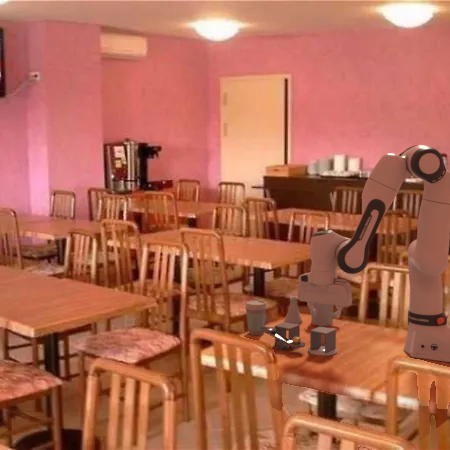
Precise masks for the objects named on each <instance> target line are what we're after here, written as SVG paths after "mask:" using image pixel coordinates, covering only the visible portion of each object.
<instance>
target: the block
mask: <svg viewBox="0 0 450 450" xmlns="http://www.w3.org/2000/svg"><path fill="white" fill-rule="evenodd" d="M321 345H325V335H324V334H321Z"/></svg>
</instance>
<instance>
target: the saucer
mask: <svg viewBox="0 0 450 450" xmlns="http://www.w3.org/2000/svg"><path fill="white" fill-rule="evenodd" d="M307 351H308V353H309V354H311V355H313V356H320V357H329V356H333V355H337V354H338V349H337V348H336V349H334V350H332V351H330V352H328V353H325V345H321V346H320V347H317V348H315V349H313V350H310V346H309V347H308V350H307Z"/></svg>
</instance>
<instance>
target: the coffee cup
mask: <svg viewBox="0 0 450 450" xmlns="http://www.w3.org/2000/svg"><path fill="white" fill-rule="evenodd" d="M244 308H245V312H246V313H245V314H246V321H247V328H248V334H249V335H252V336H262V335H264V334H265V333H264V332H261V331H260V328H262V327H266V320H267V310H268V308H269V307H268V304H267V302H266V301H265V300H259V299H258V300H257V299H256V300H255V299H254V300H248V301H246V303H245V307H244Z"/></svg>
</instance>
